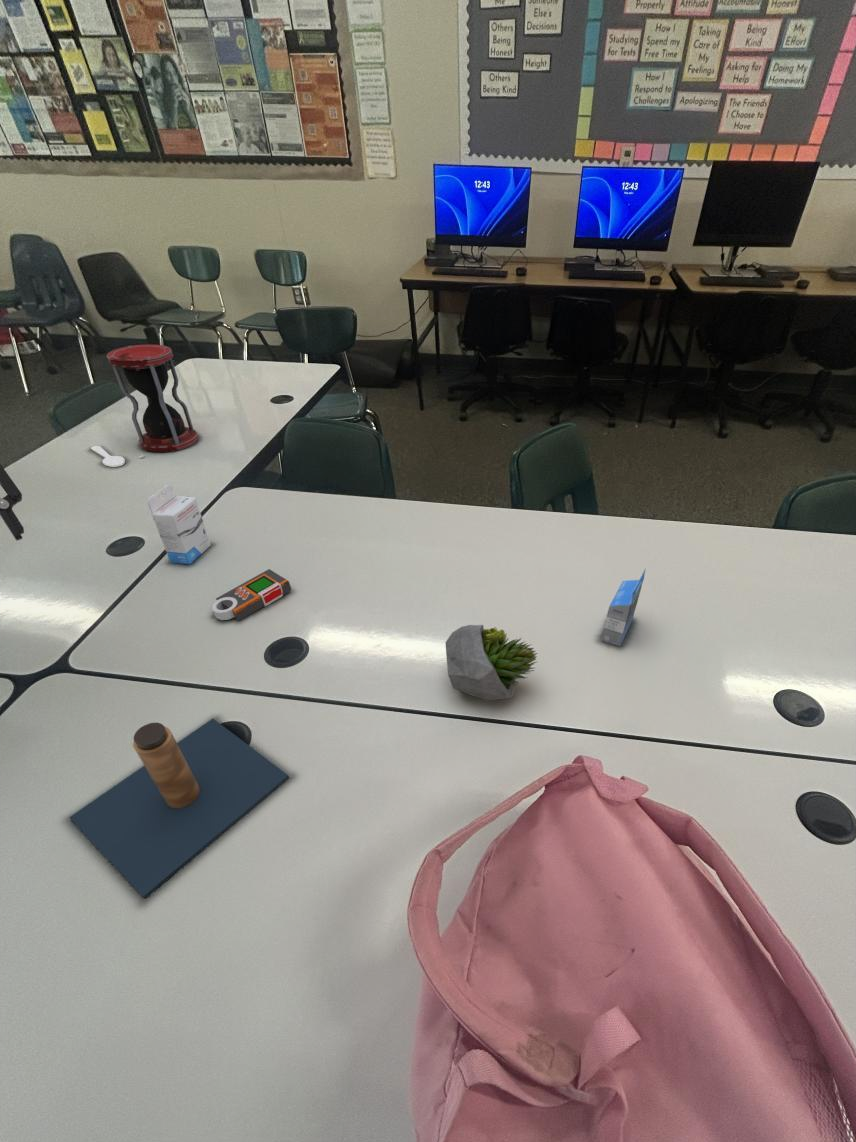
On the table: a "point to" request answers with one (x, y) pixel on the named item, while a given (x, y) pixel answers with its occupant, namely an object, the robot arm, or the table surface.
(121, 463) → the spoon
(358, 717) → the table surface
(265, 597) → the electronic device
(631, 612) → the label tape box
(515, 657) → the potted plant
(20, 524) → the robot arm
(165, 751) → the pepper mill
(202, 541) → the ink box
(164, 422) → the hourglass
